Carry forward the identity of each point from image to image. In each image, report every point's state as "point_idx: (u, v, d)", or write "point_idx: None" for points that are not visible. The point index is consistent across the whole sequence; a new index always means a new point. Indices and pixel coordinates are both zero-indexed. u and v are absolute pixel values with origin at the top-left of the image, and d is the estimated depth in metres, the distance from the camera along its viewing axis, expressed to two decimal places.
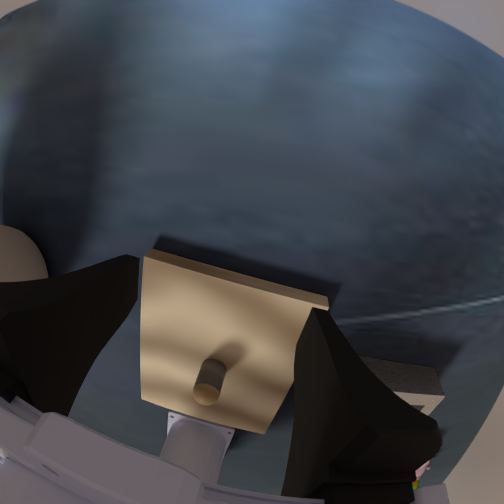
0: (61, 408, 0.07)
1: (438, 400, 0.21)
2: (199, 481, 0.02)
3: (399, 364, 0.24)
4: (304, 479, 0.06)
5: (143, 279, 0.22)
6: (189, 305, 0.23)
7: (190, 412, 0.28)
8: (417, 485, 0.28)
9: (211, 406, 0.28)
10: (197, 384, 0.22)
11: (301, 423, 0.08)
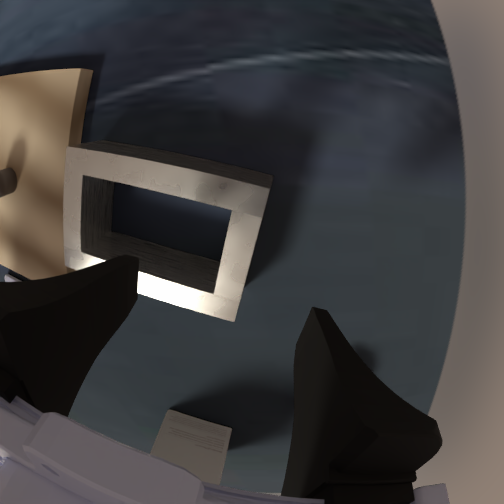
0: (61, 408, 0.07)
1: (258, 201, 0.14)
2: (199, 481, 0.02)
3: (200, 158, 0.18)
4: (304, 479, 0.06)
5: None
6: None
7: (8, 263, 0.22)
8: None
9: (17, 247, 0.21)
10: None
11: (301, 423, 0.08)
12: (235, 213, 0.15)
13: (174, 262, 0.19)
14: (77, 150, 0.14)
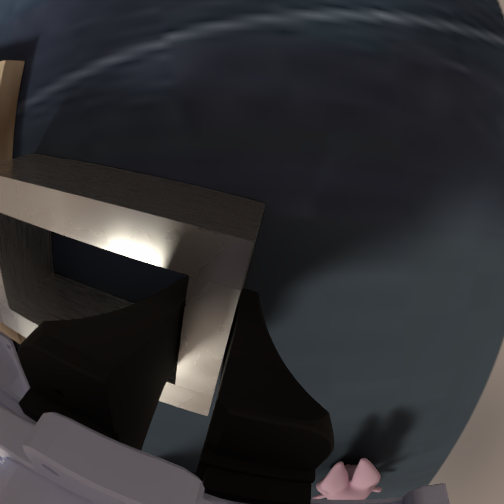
0: (138, 445, 0.07)
1: (232, 262, 0.08)
2: (199, 481, 0.02)
3: (153, 178, 0.11)
4: None
5: None
6: None
7: None
8: None
9: None
10: None
11: None
12: (195, 281, 0.09)
13: None
14: None
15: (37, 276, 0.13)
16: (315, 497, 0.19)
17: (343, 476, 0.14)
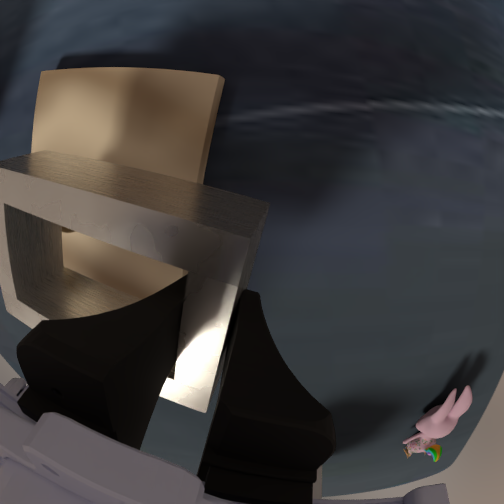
0: (136, 444, 0.07)
1: (230, 259, 0.08)
2: (199, 481, 0.02)
3: (160, 175, 0.12)
4: None
5: (37, 96, 0.15)
6: (71, 111, 0.16)
7: None
8: (440, 451, 0.21)
9: (102, 279, 0.21)
10: None
11: None
12: (193, 276, 0.09)
13: None
14: None
15: (46, 269, 0.13)
16: (406, 440, 0.25)
17: (453, 402, 0.20)
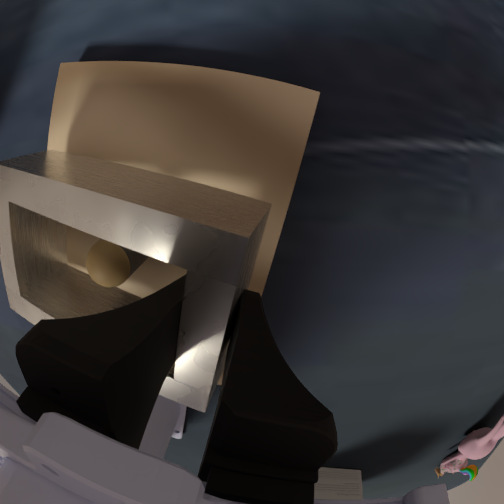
0: (135, 444, 0.07)
1: (228, 258, 0.08)
2: (199, 481, 0.02)
3: (162, 175, 0.12)
4: (202, 460, 0.06)
5: (55, 96, 0.12)
6: (104, 118, 0.13)
7: None
8: (477, 471, 0.18)
9: None
10: (94, 243, 0.12)
11: (217, 405, 0.08)
12: (192, 275, 0.09)
13: None
14: (1, 168, 0.09)
15: (50, 267, 0.14)
16: (445, 462, 0.22)
17: (501, 426, 0.17)
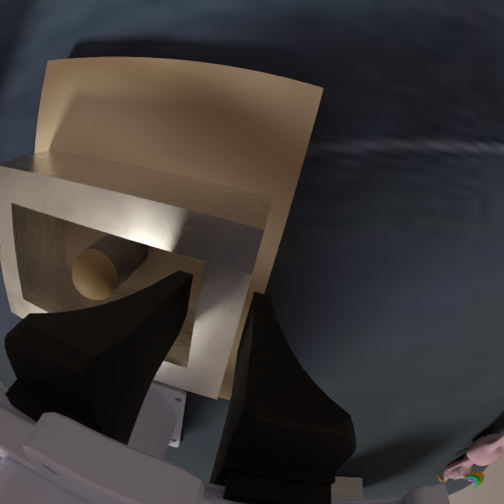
0: (123, 439, 0.07)
1: (245, 248, 0.09)
2: (199, 481, 0.02)
3: (167, 173, 0.12)
4: (217, 464, 0.06)
5: (42, 95, 0.11)
6: (91, 118, 0.12)
7: None
8: (482, 477, 0.17)
9: None
10: (80, 252, 0.11)
11: (230, 408, 0.08)
12: (210, 266, 0.09)
13: None
14: (3, 170, 0.09)
15: (50, 268, 0.14)
16: (451, 467, 0.21)
17: None
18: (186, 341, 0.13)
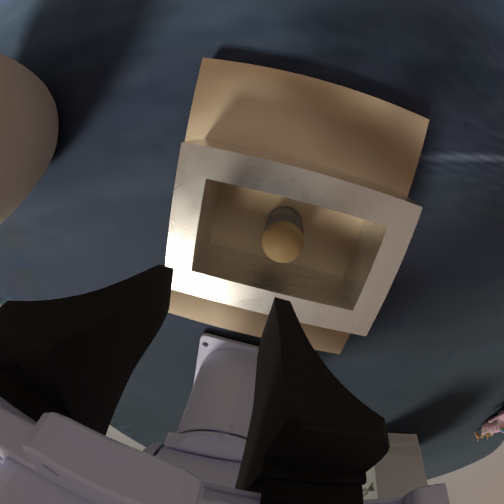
0: (100, 428, 0.07)
1: (411, 218, 0.13)
2: (199, 481, 0.02)
3: (329, 168, 0.16)
4: (248, 471, 0.06)
5: (197, 88, 0.16)
6: (258, 116, 0.16)
7: (236, 324, 0.22)
8: None
9: None
10: (271, 224, 0.15)
11: (255, 414, 0.08)
12: (390, 230, 0.14)
13: (298, 278, 0.18)
14: (199, 148, 0.13)
15: (204, 244, 0.18)
16: (492, 419, 0.25)
17: None
18: (341, 294, 0.17)
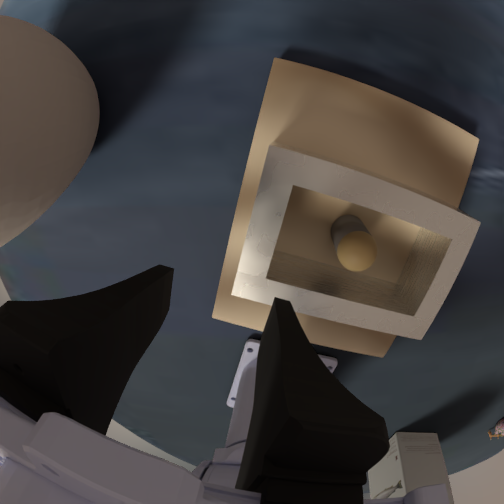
0: (100, 428, 0.07)
1: (471, 232, 0.13)
2: (199, 481, 0.02)
3: (394, 180, 0.16)
4: (248, 471, 0.06)
5: (267, 88, 0.15)
6: (330, 124, 0.16)
7: None
8: None
9: None
10: (348, 234, 0.15)
11: (255, 414, 0.08)
12: (453, 242, 0.13)
13: (361, 285, 0.17)
14: (288, 153, 0.13)
15: None
16: None
17: None
18: (400, 300, 0.17)
